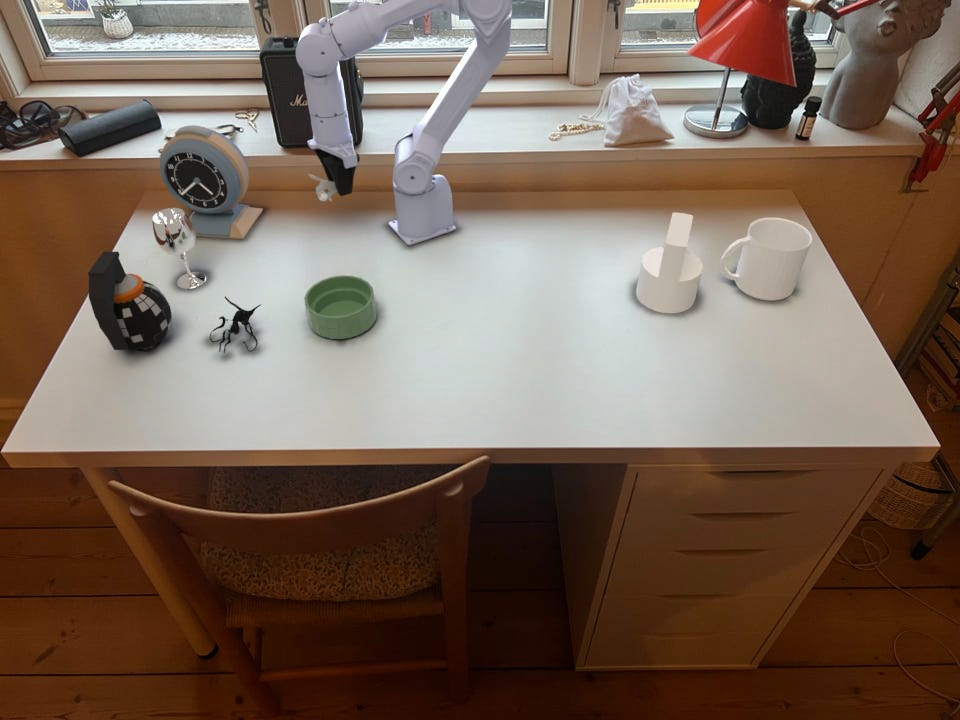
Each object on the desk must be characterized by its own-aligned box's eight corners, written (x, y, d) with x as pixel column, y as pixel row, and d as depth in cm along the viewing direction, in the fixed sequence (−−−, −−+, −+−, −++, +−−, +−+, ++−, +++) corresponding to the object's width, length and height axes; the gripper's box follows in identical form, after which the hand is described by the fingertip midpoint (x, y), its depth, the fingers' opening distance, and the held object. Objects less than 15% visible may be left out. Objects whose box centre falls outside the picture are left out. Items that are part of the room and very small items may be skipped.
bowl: (360, 291, 110) (356, 268, 107) (388, 326, 104) (385, 302, 101) (300, 312, 107) (294, 289, 104) (325, 350, 100) (319, 326, 97)
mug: (790, 270, 113) (808, 221, 107) (796, 305, 107) (815, 254, 100) (714, 262, 115) (727, 212, 109) (715, 295, 109) (729, 244, 102)
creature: (250, 365, 100) (276, 322, 104) (236, 343, 95) (264, 299, 100) (203, 353, 102) (230, 312, 106) (187, 331, 97) (217, 288, 101)
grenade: (162, 372, 97) (124, 286, 87) (95, 372, 98) (48, 286, 87) (188, 319, 106) (156, 235, 95) (126, 319, 106) (87, 235, 96)
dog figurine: (344, 214, 118) (359, 186, 116) (300, 195, 114) (315, 165, 112) (341, 206, 121) (356, 178, 119) (298, 187, 116) (312, 157, 114)
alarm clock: (170, 234, 123) (135, 139, 111) (194, 205, 130) (164, 112, 118) (248, 239, 121) (221, 143, 109) (268, 210, 128) (245, 116, 116)
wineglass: (199, 293, 110) (176, 228, 102) (166, 289, 111) (140, 224, 103) (216, 272, 114) (195, 207, 106) (184, 268, 115) (161, 204, 107)
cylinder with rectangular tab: (691, 318, 105) (708, 251, 97) (631, 306, 107) (643, 240, 99) (697, 283, 111) (714, 218, 103) (640, 273, 113) (652, 208, 105)
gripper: (287, 99, 111) (303, 176, 120) (320, 134, 102) (335, 215, 111) (329, 89, 113) (341, 166, 123) (365, 123, 104) (375, 203, 114)
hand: (341, 189), depth 117 cm, fingers closed on dog figurine, 3 cm apart
